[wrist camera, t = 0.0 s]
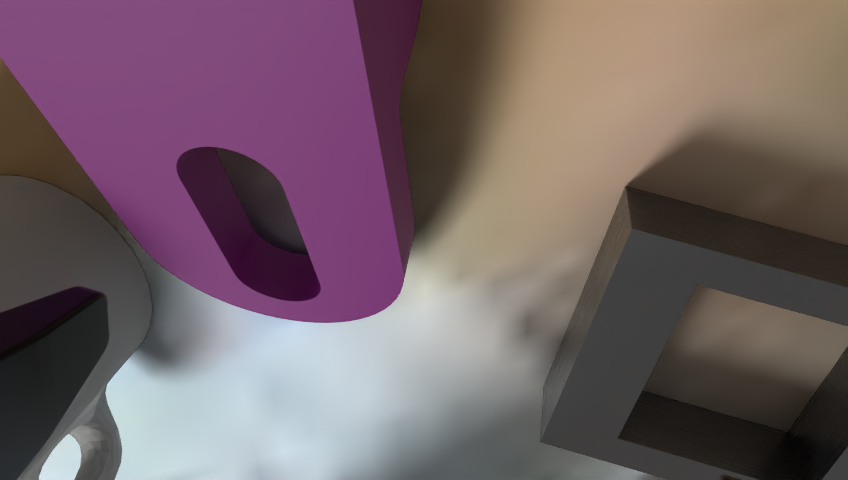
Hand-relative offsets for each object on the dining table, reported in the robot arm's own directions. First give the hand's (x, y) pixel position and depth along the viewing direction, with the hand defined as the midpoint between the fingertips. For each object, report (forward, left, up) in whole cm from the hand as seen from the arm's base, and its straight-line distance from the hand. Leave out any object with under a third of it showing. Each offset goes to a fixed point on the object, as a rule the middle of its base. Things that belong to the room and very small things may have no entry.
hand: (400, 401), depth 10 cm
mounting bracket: (-1, +7, -15) cm, 17 cm away
